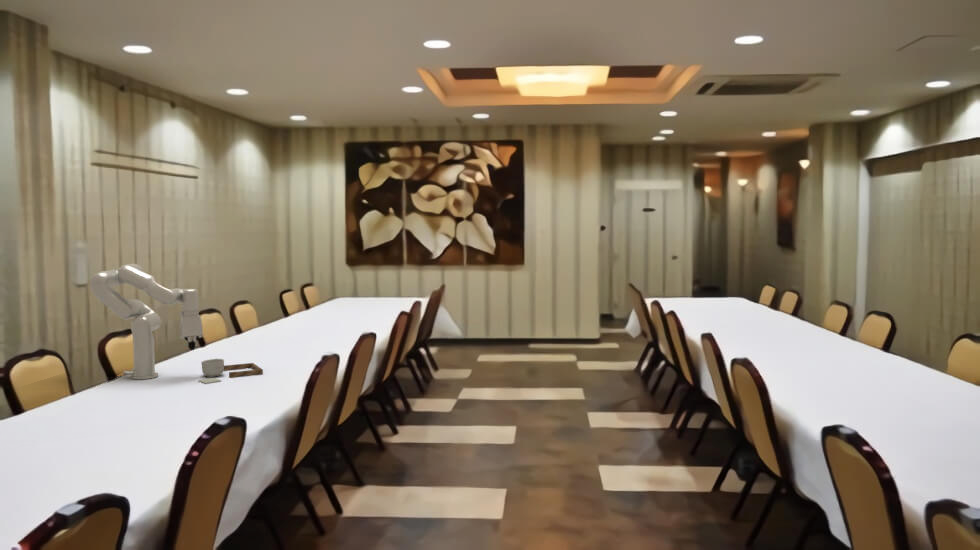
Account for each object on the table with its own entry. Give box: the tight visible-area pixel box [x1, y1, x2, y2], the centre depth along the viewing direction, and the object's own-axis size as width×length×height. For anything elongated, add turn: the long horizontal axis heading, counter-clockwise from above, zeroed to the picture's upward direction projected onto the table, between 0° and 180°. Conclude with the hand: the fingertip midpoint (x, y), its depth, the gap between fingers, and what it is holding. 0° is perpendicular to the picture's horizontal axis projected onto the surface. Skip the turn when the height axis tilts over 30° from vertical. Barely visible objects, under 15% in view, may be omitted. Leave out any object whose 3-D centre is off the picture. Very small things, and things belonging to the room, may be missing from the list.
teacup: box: [200, 358, 225, 378], centre depth 363 cm, size 14×11×8 cm
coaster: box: [197, 377, 222, 385], centre depth 349 cm, size 8×8×1 cm
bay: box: [224, 362, 264, 379], centre depth 371 cm, size 16×20×2 cm
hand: (191, 349), depth 356 cm, fingers closed
